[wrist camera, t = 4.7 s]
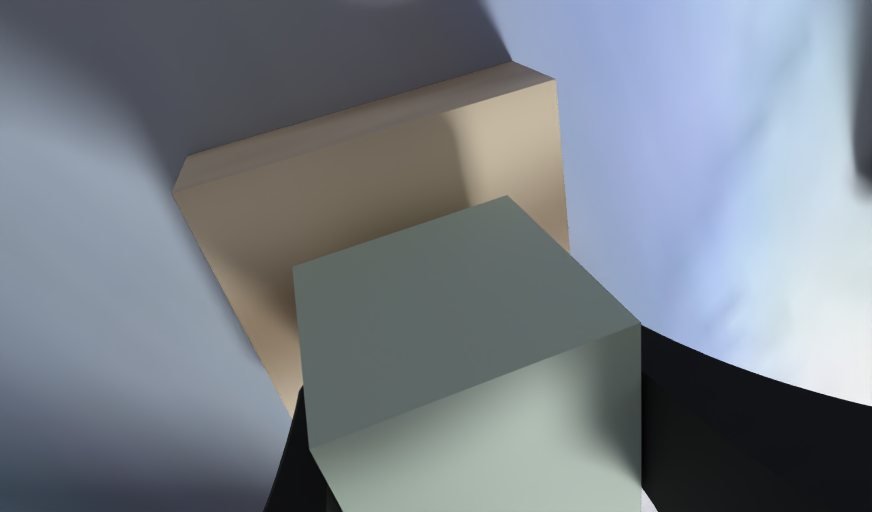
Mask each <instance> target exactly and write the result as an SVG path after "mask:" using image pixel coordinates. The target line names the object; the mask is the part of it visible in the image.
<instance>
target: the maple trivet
mask: <svg viewBox="0 0 872 512" xmlns="http://www.w3.org/2000/svg"><path fill="white" fill-rule="evenodd" d="M171 194H172V196H173V198H174V200H175V201H176V203H177V205H178V207H179V209H180V211H181V213H182V214H183V216H184V218H185V220H186V222H187V224H188V226H189V228H190V229H191V231H192V233H193V235H194V237H195V239H196V241H197V242H198V244H199V246H200V248H201V250H202V252H203V254H204V256H205V257H206V259H207V261H208V263H209V265H210V267H211V269H212V270H213V272H214V274H215V276H216V278H217V280H218V282H219V284H220V285H221V287H222V289H223V291H224V293H225V295H226V297H227V298H228V300H229V302H230V304H231V306H232V308H233V310H234V312H235V313H236V315H237V317H238V319H239V321H240V323H241V325H242V326H243V328H244V330H245V332H246V334H247V336H248V338H249V340H250V341H251V343H252V345H253V347H254V349H255V351H256V353H257V354H258V356H259V358H260V360H261V362H262V364H263V366H264V368H265V369H266V371H267V373H268V375H269V377H270V379H271V381H272V383H273V384H274V386H275V388H276V390H277V392H278V394H279V396H280V397H281V399H282V401H283V403H284V405H285V407H286V409H287V411H288V412H289V414H290V416H291V418H292V419H293V415H294V411H295V407H296V402H297V398H298V393H299V390H300V388H301V387H302V385H303V377H302V366H301V355H300V344H299V334H298V323H297V312H296V302H295V291H294V280H293V269H292V267H293V266H296V265H299V264H302V263H305V262H308V261H311V260H314V259H317V258H320V257H323V256H326V255H329V254H332V253H335V252H338V251H341V250H344V249H347V248H350V247H353V246H356V245H359V244H362V243H365V242H368V241H371V240H374V239H377V238H380V237H383V236H386V235H389V234H392V233H395V232H398V231H401V230H404V229H407V228H410V227H413V226H416V225H419V224H422V223H425V222H428V221H431V220H434V219H437V218H440V217H443V216H446V215H449V214H452V213H455V212H458V211H461V210H464V209H467V208H469V207H472V206H475V205H478V204H481V203H484V202H487V201H490V200H493V199H496V198H499V197H502V196H505V195H508V196H509V197H510V198H511V199H512V200H513V201H514V202H515V203H516V204H517V205H518V206H520V207H521V208H522V209H523V210H524V211H525V212H526V213H527V214H528V215H529V216H530V217H531V218H532V219H533V220H534V221H535V222H536V223H537V224H538V225H539V226H540V227H541V228H543V229H544V230H545V231H546V232H547V233H548V234H549V235H550V236H551V237H552V238H553V239H554V240H555V241H556V242H557V243H558V244H559V245H560V246H561V247H562V248H563V249H564V250H566V251H567V252H568V253H569V254H570V247H569V235H568V223H567V210H566V198H565V186H564V174H563V161H562V149H561V137H560V125H559V113H558V100H557V88H556V79H554V78H552V77H549V76H547V75H545V74H542V73H540V72H538V71H535V70H533V69H530V68H528V67H526V66H523V65H521V64H519V63H516V62H514V61H511V62H507V63H504V64H501V65H497V66H494V67H490V68H487V69H483V70H480V71H476V72H473V73H470V74H466V75H463V76H459V77H456V78H452V79H449V80H445V81H442V82H439V83H435V84H432V85H428V86H425V87H421V88H418V89H415V90H411V91H408V92H404V93H401V94H397V95H394V96H390V97H387V98H384V99H380V100H377V101H373V102H370V103H366V104H363V105H359V106H356V107H353V108H349V109H346V110H342V111H339V112H335V113H332V114H328V115H325V116H322V117H318V118H315V119H311V120H308V121H304V122H301V123H297V124H294V125H291V126H287V127H284V128H280V129H277V130H273V131H270V132H267V133H263V134H260V135H256V136H253V137H249V138H246V139H242V140H239V141H236V142H232V143H229V144H225V145H222V146H218V147H215V148H211V149H208V150H205V151H201V152H198V153H194V154H191V155H187V157H186V159H185V162H184V164H183V167H182V169H181V172H180V174H179V176H178V179H177V181H176V184H175V186H174V188H173V191H172V193H171Z"/></svg>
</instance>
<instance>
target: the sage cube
mask: <svg viewBox="0 0 872 512" xmlns="http://www.w3.org/2000/svg"><path fill="white" fill-rule="evenodd" d="M292 269H293V280H294V291H295V302H296V312H297V323H298V334H299V344H300V355H301V366H302V377H303V387H304V398H305V409H306V420H307V430H308V441H309V450H310V452H311V453H312V455H313V457H314V459H315V461H316V463H317V464H318V466H319V468H320V470H321V472H322V474H323V475H324V477H325V479H326V481H327V483H328V485H329V487H330V488H331V490H332V492H333V494H334V496H335V498H336V499H337V501H338V503H339V505H340V507H341V509H342V510H343V512H641V322H640V321H639V320H638V319H637V318H636V317H635V316H633V315H632V314H631V313H630V312H629V311H628V310H627V309H626V308H625V307H624V306H623V305H622V304H621V303H620V302H619V301H618V300H617V299H616V298H615V297H614V296H613V295H612V294H610V293H609V292H608V291H607V290H606V289H605V288H604V287H603V286H602V285H601V284H600V283H599V282H598V281H597V280H596V279H595V278H594V277H593V276H592V275H591V274H590V273H589V272H587V271H586V270H585V269H584V268H583V267H582V266H581V265H580V264H579V263H578V262H577V261H576V260H575V259H574V258H573V257H572V256H571V255H570V254H569V253H568V252H567V251H566V250H564V249H563V248H562V247H561V246H560V245H559V244H558V243H557V242H556V241H555V240H554V239H553V238H552V237H551V236H550V235H549V234H548V233H547V232H546V231H545V230H544V229H543V228H541V227H540V226H539V225H538V224H537V223H536V222H535V221H534V220H533V219H532V218H531V217H530V216H529V215H528V214H527V213H526V212H525V211H524V210H523V209H522V208H521V207H520V206H518V205H517V204H516V203H515V202H514V201H513V200H512V199H511V198H510V197H509V196H508V195H505V196H502V197H499V198H496V199H493V200H490V201H487V202H484V203H481V204H478V205H475V206H472V207H469V208H467V209H464V210H461V211H458V212H455V213H452V214H449V215H446V216H443V217H440V218H437V219H434V220H431V221H428V222H425V223H422V224H419V225H416V226H413V227H410V228H407V229H404V230H401V231H398V232H395V233H392V234H389V235H386V236H383V237H380V238H377V239H374V240H371V241H368V242H365V243H362V244H359V245H356V246H353V247H350V248H347V249H344V250H341V251H338V252H335V253H332V254H329V255H326V256H323V257H320V258H317V259H314V260H311V261H308V262H305V263H302V264H299V265H296V266H293V267H292Z"/></svg>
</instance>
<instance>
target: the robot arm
mask: <svg viewBox="0 0 872 512" xmlns="http://www.w3.org/2000/svg"><path fill="white" fill-rule="evenodd" d="M641 487H642V488H643V490H644V491H645V493H646V494H647V496H648V497H649V498H650V500H651V501H652V503H653V504H654V506H655V508H656V509H657V511H658V512H872V406H867V405H863V404H859V403H855V402H851V401H847V400H843V399H839V398H835V397H831V396H828V395H824V394H820V393H817V392H814V391H810V390H807V389H803V388H800V387H796V386H793V385H790V384H786V383H783V382H780V381H777V380H774V379H771V378H767V377H764V376H762V375H759V374H756V373H753V372H750V371H748V370H745V369H742V368H739V367H736V366H734V365H731V364H728V363H725V362H723V361H720V360H718V359H715V358H713V357H710V356H708V355H705V354H703V353H701V352H699V351H696V350H694V349H692V348H689V347H687V346H685V345H682V344H680V343H678V342H676V341H674V340H671V339H669V338H667V337H665V336H663V335H661V334H659V333H657V332H655V331H653V330H651V329H649V328H647V327H645V326H642V325H641ZM263 512H343V510H342V509H341V507H340V505H339V503H338V501H337V499H336V498H335V496H334V494H333V492H332V490H331V488H330V487H329V485H328V483H327V481H326V479H325V477H324V475H323V474H322V472H321V470H320V468H319V466H318V464H317V463H316V461H315V459H314V457H313V455H312V453H311V452H310V450H309V441H308V430H307V420H306V409H305V398H304V387H303V385H302V387H301V388H300V390H299V393H298V398H297V402H296V407H295V411H294V415H293V419H292V423H291V427H290V431H289V434H288V438H287V442H286V445H285V448H284V452H283V455H282V458H281V461H280V465H279V468H278V471H277V474H276V477H275V480H274V483H273V486H272V489H271V492H270V494H269V497H268V500H267V502H266V505H265V508H264V510H263Z"/></svg>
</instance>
